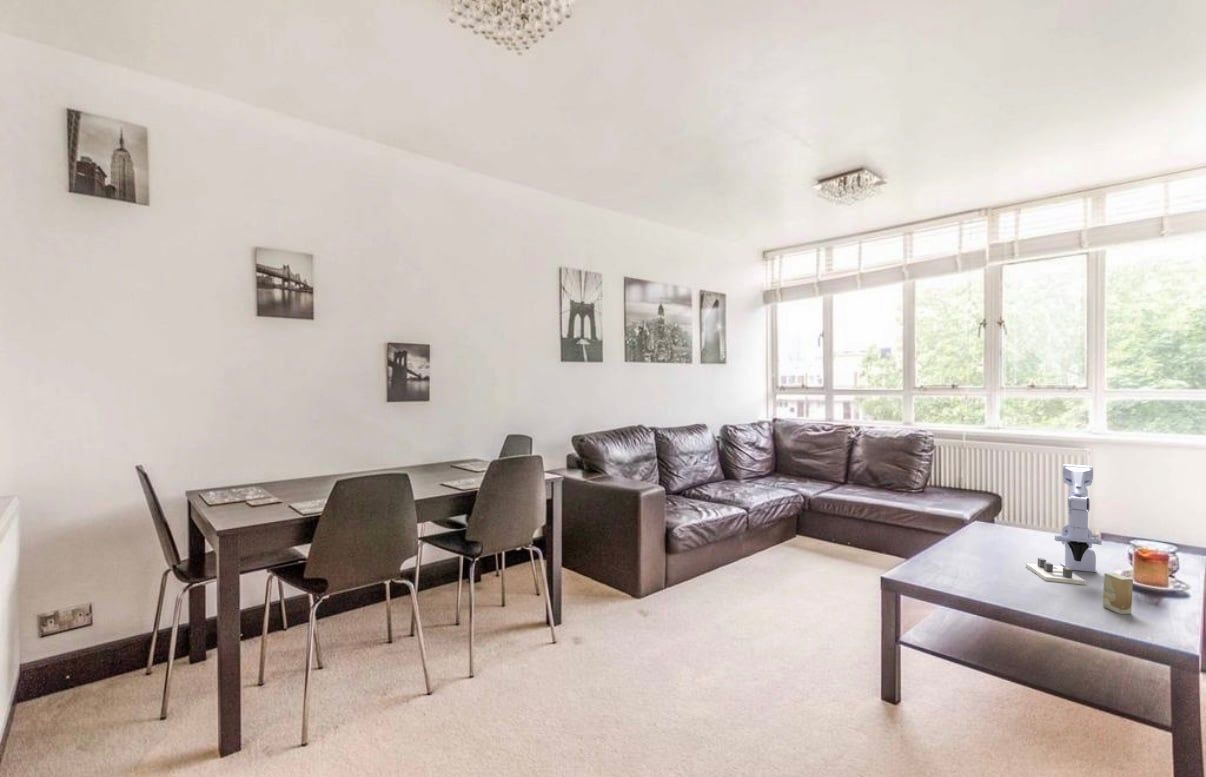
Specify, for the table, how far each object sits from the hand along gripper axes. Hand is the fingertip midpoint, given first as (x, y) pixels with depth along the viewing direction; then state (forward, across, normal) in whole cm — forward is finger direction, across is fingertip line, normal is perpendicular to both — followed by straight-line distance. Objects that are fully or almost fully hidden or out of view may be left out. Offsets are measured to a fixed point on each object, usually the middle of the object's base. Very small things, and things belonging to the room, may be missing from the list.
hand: (1077, 560), depth 213 cm
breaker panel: (+8, -5, +5) cm, 11 cm away
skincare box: (+8, -1, -29) cm, 30 cm away
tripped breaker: (+7, -3, 0) cm, 7 cm away
